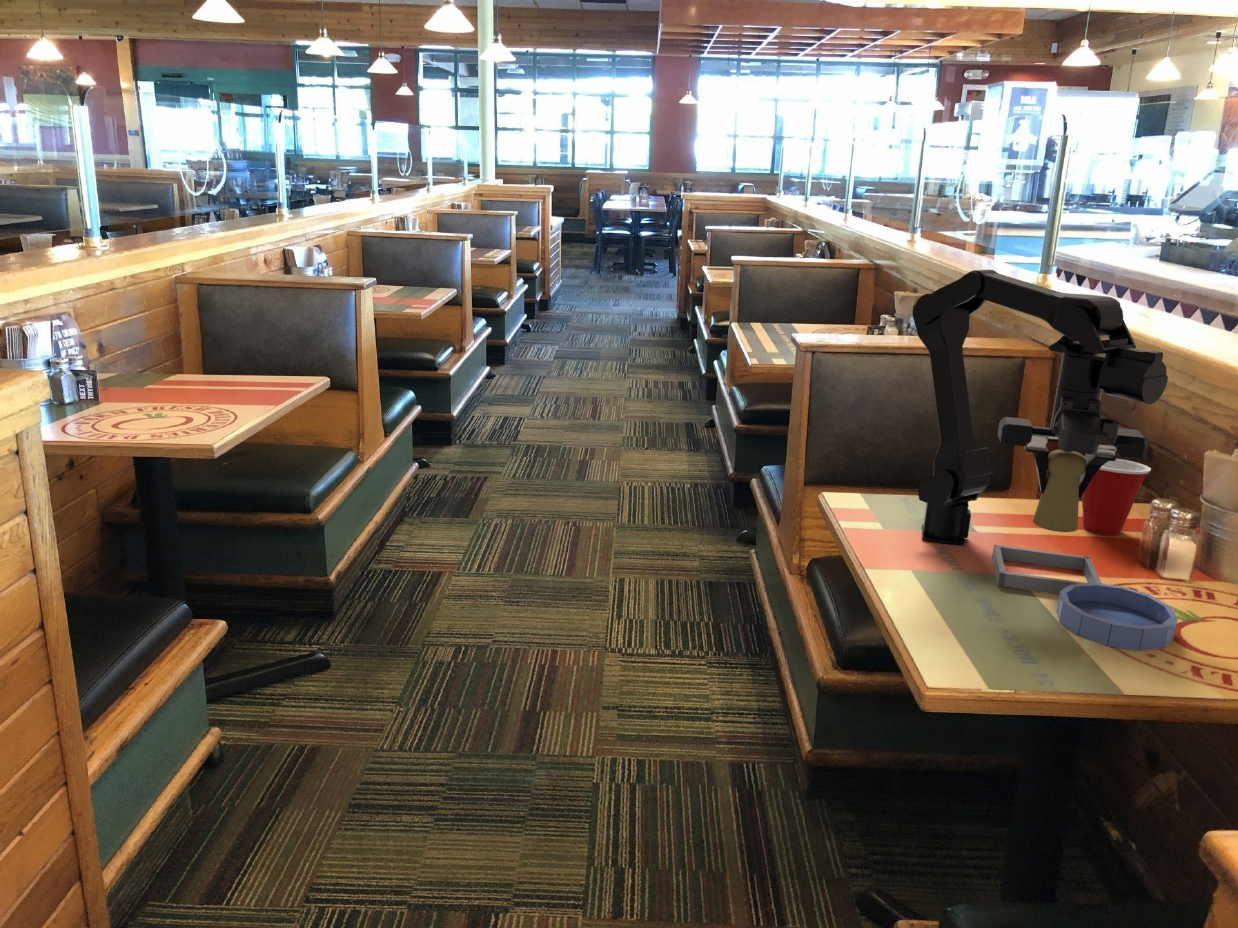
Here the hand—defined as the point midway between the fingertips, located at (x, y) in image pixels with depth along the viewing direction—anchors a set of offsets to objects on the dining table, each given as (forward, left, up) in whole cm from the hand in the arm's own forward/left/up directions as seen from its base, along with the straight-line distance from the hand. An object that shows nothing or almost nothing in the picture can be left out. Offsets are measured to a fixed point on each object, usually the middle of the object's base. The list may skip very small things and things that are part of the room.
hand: (1060, 494), depth 140 cm
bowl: (+7, -14, -13) cm, 20 cm away
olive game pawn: (0, 0, -5) cm, 5 cm away
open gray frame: (0, 0, -13) cm, 13 cm away
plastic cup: (+12, +26, -13) cm, 32 cm away
